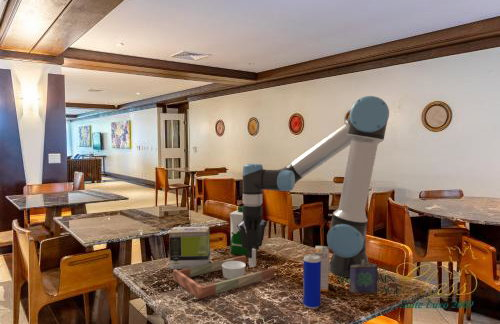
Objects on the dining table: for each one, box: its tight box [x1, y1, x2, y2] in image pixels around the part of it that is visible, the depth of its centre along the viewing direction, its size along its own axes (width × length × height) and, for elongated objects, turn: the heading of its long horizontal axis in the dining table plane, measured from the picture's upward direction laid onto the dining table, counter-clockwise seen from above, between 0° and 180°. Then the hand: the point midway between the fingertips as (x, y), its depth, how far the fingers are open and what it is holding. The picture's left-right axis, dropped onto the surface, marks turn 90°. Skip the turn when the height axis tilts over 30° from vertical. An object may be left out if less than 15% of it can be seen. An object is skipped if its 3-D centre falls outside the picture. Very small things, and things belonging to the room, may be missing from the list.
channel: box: [172, 255, 276, 299], centre depth 131 cm, size 19×31×4 cm, turn 126°
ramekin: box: [221, 261, 247, 280], centre depth 133 cm, size 9×9×4 cm
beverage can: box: [302, 253, 322, 310], centre depth 109 cm, size 5×5×15 cm
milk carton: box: [229, 205, 247, 256], centre depth 161 cm, size 9×9×20 cm
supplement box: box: [314, 245, 330, 293], centre depth 123 cm, size 8×5×13 cm, turn 168°
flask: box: [349, 259, 379, 295], centre depth 119 cm, size 9×3×11 cm, turn 96°
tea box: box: [168, 225, 211, 270], centre depth 144 cm, size 15×10×15 cm
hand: (252, 265), depth 138 cm, fingers closed
